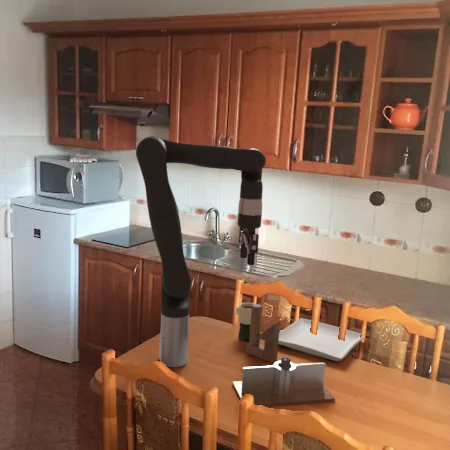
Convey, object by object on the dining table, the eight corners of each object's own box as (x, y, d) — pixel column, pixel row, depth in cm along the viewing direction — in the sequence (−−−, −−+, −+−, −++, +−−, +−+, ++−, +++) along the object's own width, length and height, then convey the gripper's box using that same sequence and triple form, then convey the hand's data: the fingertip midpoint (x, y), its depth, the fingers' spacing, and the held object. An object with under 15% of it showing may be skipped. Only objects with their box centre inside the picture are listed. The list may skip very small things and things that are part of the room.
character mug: (263, 340, 200) (266, 307, 198) (252, 345, 195) (254, 311, 192) (241, 331, 207) (242, 299, 204) (229, 336, 202) (231, 304, 199)
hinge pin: (280, 392, 160) (283, 362, 158) (277, 388, 162) (279, 357, 160) (289, 392, 160) (291, 361, 158) (286, 387, 163) (288, 357, 161)
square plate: (341, 368, 181) (342, 357, 180) (269, 347, 195) (270, 337, 194) (365, 342, 204) (366, 333, 203) (300, 325, 218) (300, 316, 217)
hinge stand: (244, 408, 152) (246, 379, 150) (232, 384, 165) (234, 357, 163) (334, 401, 159) (337, 373, 157) (316, 378, 172) (318, 353, 170)
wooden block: (271, 363, 181) (275, 313, 178) (245, 353, 188) (249, 305, 184) (277, 359, 184) (281, 310, 181) (251, 350, 191) (255, 302, 187)
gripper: (233, 208, 175) (230, 255, 178) (244, 216, 161) (241, 267, 164) (255, 208, 176) (251, 255, 180) (268, 216, 163) (264, 267, 166)
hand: (246, 261), depth 172 cm, fingers open, 8 cm apart
